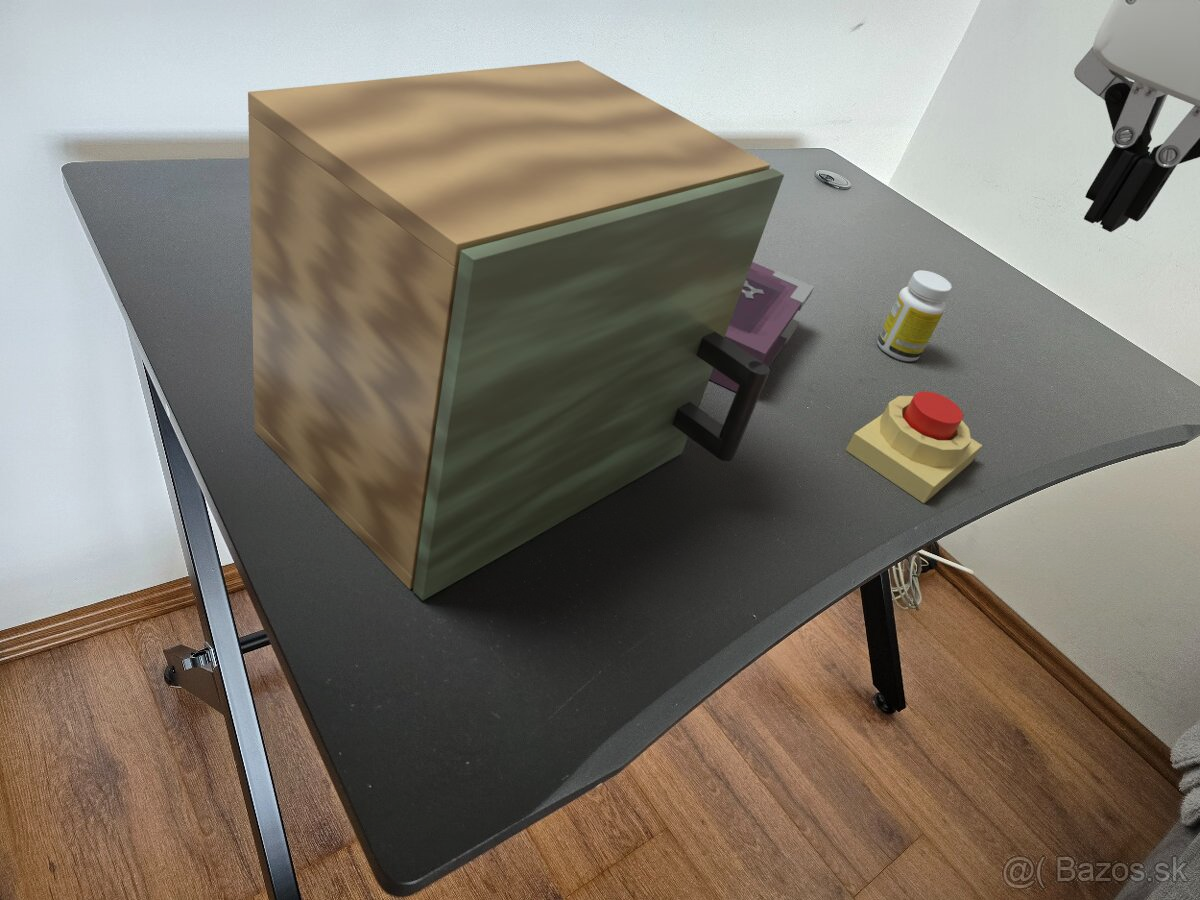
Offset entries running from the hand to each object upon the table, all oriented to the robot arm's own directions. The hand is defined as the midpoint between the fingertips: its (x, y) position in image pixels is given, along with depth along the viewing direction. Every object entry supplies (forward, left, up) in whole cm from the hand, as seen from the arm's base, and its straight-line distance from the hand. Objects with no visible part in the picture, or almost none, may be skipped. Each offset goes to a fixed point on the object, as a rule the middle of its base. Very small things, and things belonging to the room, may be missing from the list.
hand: (1104, 220), depth 51 cm
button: (+6, -15, -25) cm, 30 cm away
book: (+34, -12, -29) cm, 46 cm away
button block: (+6, -15, -29) cm, 33 cm away
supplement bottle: (+16, -31, -29) cm, 46 cm away
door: (+16, +17, -29) cm, 37 cm away
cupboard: (+28, +17, -29) cm, 44 cm away
